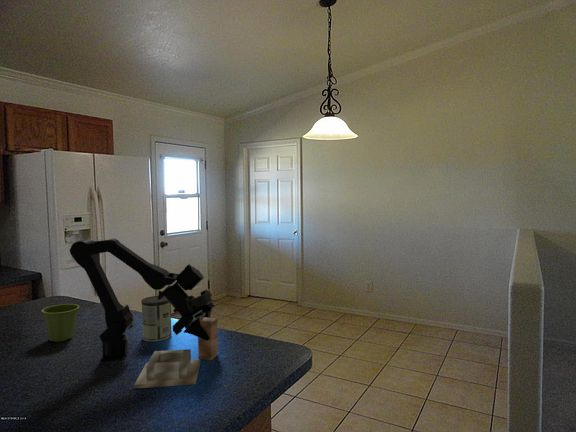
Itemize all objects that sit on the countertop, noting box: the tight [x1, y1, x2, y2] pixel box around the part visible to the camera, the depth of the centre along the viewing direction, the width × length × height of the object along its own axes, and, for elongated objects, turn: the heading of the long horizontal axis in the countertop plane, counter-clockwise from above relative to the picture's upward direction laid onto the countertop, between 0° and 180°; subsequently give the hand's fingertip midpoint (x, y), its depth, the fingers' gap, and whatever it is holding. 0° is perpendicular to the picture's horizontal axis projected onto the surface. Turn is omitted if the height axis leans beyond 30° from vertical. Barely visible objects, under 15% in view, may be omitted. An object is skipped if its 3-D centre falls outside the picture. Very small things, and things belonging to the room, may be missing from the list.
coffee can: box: [140, 295, 172, 343], centre depth 138 cm, size 10×10×14 cm
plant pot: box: [41, 303, 81, 343], centre depth 136 cm, size 12×12×11 cm
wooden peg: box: [197, 317, 219, 361], centre depth 120 cm, size 4×4×12 cm
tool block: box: [133, 348, 202, 389], centre depth 108 cm, size 16×14×5 cm
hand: (211, 336), depth 120 cm, fingers closed on wooden peg, 4 cm apart
